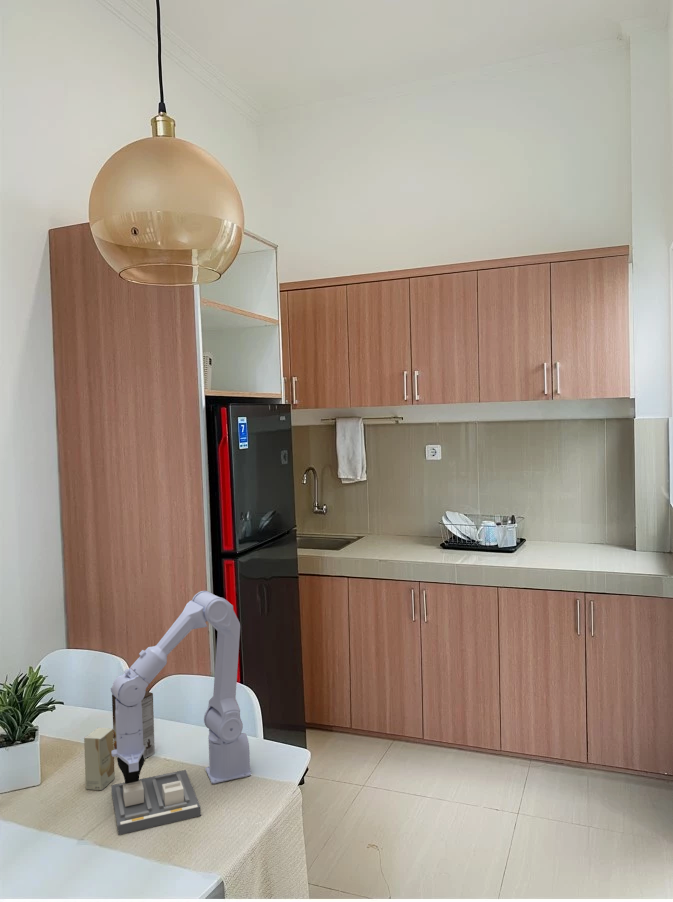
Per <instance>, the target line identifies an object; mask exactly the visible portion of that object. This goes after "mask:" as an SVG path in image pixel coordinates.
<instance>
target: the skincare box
mask: <svg viewBox="0 0 673 902" xmlns="http://www.w3.org/2000/svg"><path fill="white" fill-rule="evenodd" d="M83 743H84V772H85V773H84V775H85V776H84V778H85V779H84V780H85V790H95V791H103V790H104V789H105V788H106V787H107V786H108V785H109V784H111V782H112V781H114V779H115V778H116V777H115V774H116V773H115V771H116V770H115V757H112V754H111V751H112V750H114V739H113V728H109V727H108V728H107V727H96V728H95V729H94V730H93V731H91V732H90V733H89V734H87V735H86V736H85V737H84V738H83Z"/></svg>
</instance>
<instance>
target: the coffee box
mask: <svg viewBox="0 0 673 902" xmlns="http://www.w3.org/2000/svg"><path fill="white" fill-rule="evenodd" d="M115 699H116V697H114V696H113V694H112V693H111V703H112V707H111V708H112V729H113V743H114V750H116V749H117V740H116V716H115V710H116V705H115ZM141 705H142V722H143V745H144V748H145V750H144V753H143V755H144V760H145V758H146V759H147V757H148V758H149V757H151V756H154V755H155V753H156V752H155V722H154V721H155V720H154V719H155V718H154V693H153V692H152V691H151V692H150V691H146V692H145V696H144V698H143V699H142V700H141Z"/></svg>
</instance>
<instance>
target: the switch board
mask: <svg viewBox="0 0 673 902" xmlns="http://www.w3.org/2000/svg"><path fill="white" fill-rule="evenodd" d="M139 781H142V785H143V789H144V803H140V804H135V805H131V806H126V807H125V804H124V799H123V784H125V781H124V782H119V783H116V784H111V786H110V787H111V790H110V791H111V798H112V803H113V810H114V817H115V823H116V828H117V834H118V836H121V835H125V834H130V833H133V832H138V831H142V830H146V829H149V828H155V827H159V826H163V825H167V824H172V823H177V822H180V821H181V822H182V821H184V820H190V819H193V817H194V818H198V817H201V815H202V814H201V804H200V802H199V801H198V797H197V795H196V793H195V790H194V787H193V784H192V782H191V779H190V778H189V775H188V772H187V769H184V770H179V771H172V772H169V773H163V774H157V775H154V776H149V777H143V778H139ZM175 781H181V783H182V786H183V789H184V803H179V804H175V805H170V806H166V807H165V804H164V801H163V794H162V784H166V783H171V782H175ZM197 816H198V817H197Z"/></svg>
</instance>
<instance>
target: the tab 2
mask: <svg viewBox="0 0 673 902" xmlns="http://www.w3.org/2000/svg"><path fill="white" fill-rule="evenodd" d="M162 794H163V801H164V804H165V807H166V806H170V805H175V804H179V803H184V789H183V786H182V783H181V781H175V782H171V783H166V784H162Z"/></svg>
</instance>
